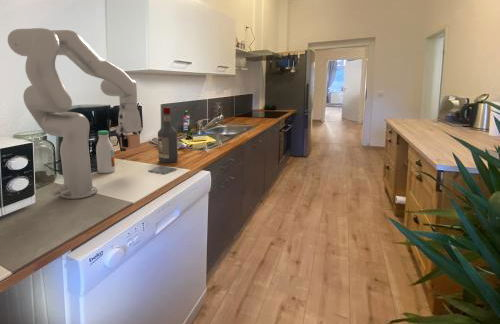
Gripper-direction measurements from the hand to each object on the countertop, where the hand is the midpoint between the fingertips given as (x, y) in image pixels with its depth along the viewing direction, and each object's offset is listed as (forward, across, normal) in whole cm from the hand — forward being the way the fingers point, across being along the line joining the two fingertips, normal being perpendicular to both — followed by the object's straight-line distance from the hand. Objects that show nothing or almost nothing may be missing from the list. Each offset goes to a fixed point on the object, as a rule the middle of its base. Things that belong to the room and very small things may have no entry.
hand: (130, 145), depth 145 cm
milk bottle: (+14, -3, +13) cm, 19 cm away
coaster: (+14, +12, -9) cm, 20 cm away
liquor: (+13, +29, +1) cm, 32 cm away
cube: (+1, 0, 0) cm, 1 cm away
